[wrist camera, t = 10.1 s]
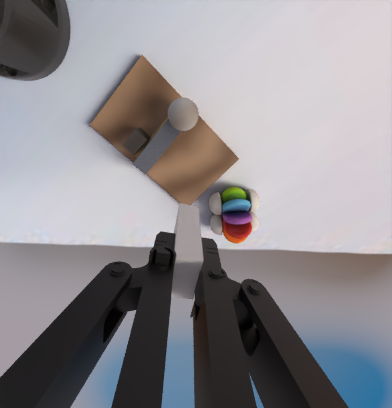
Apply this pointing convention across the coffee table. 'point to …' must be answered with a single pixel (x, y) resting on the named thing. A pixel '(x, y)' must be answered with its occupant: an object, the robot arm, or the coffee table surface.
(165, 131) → the bar
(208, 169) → the board
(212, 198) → the multicolored petal toy
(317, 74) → the coffee table surface
